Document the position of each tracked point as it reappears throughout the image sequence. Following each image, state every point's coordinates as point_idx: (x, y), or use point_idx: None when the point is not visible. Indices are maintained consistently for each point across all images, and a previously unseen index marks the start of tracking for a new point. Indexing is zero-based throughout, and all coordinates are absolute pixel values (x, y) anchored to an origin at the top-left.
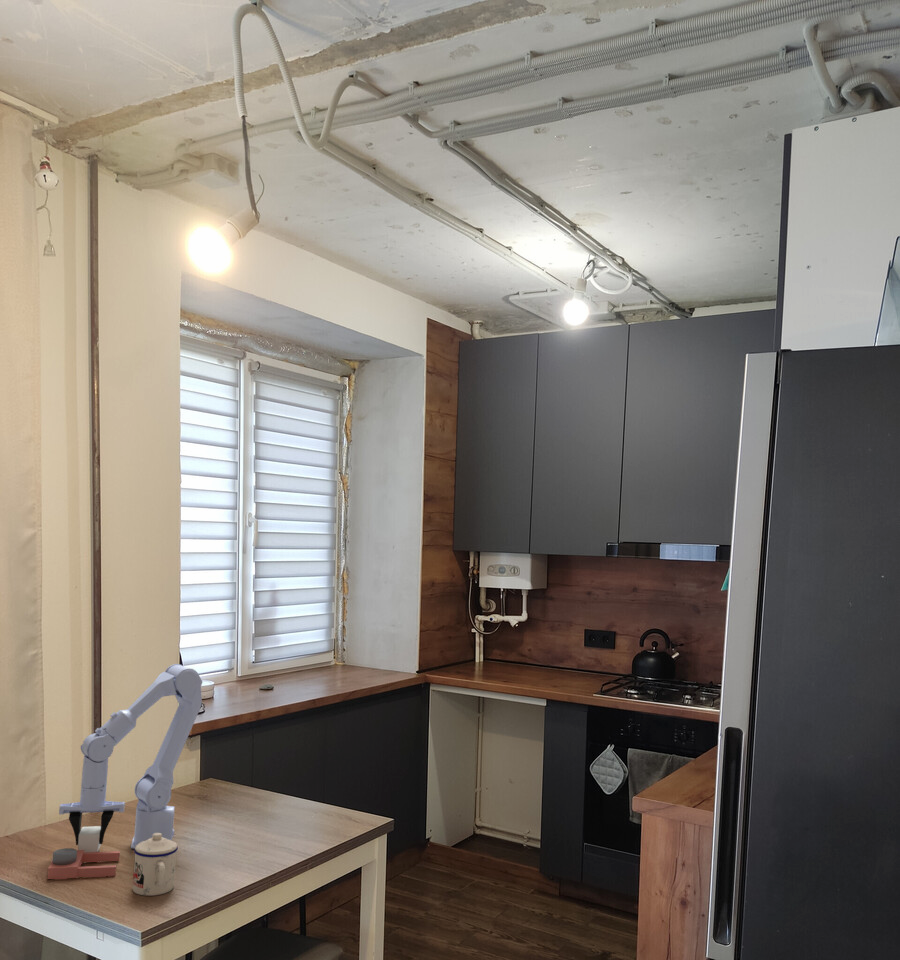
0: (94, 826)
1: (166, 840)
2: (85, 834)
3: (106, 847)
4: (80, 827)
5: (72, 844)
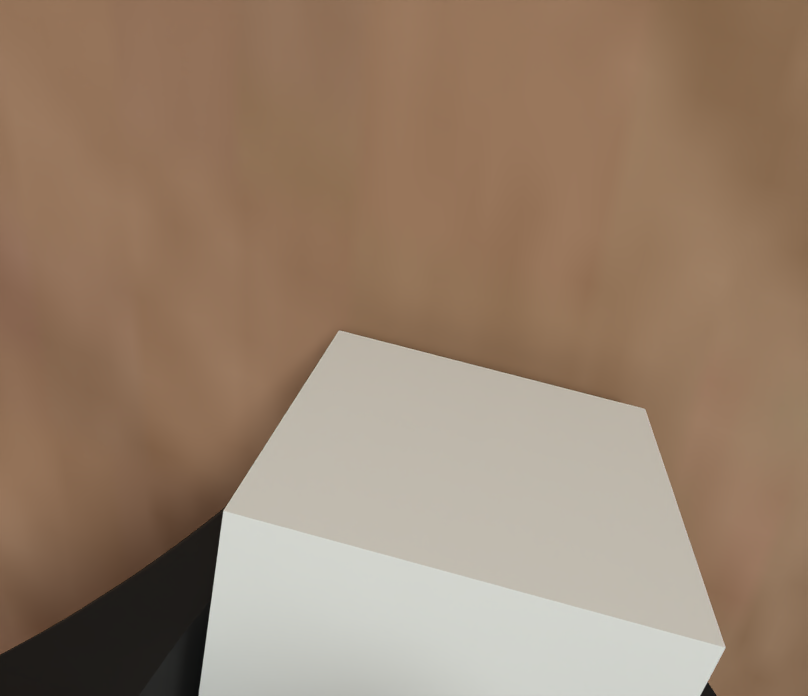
0: (527, 599)
1: None
2: None
3: (742, 360)
4: (164, 693)
5: (236, 7)
